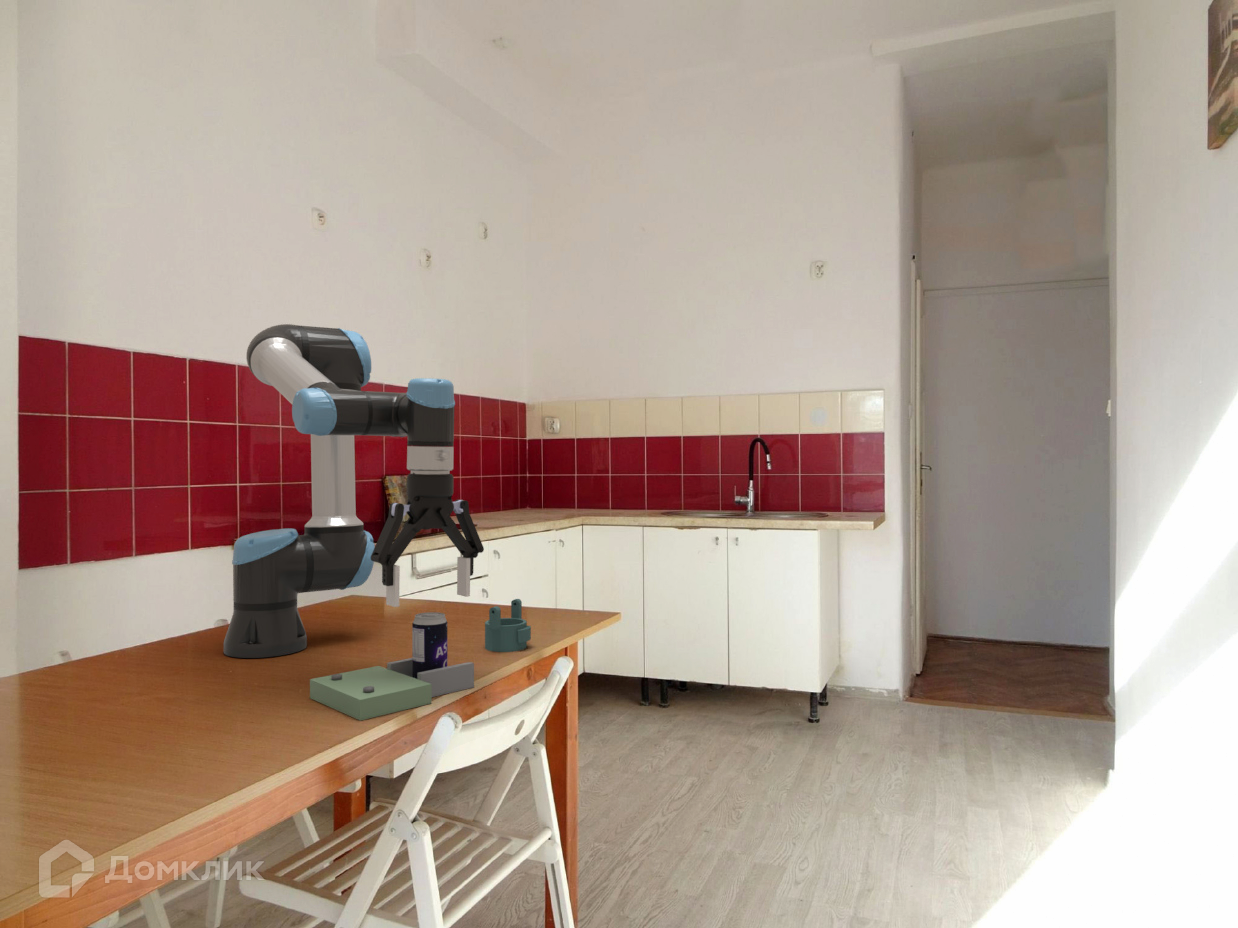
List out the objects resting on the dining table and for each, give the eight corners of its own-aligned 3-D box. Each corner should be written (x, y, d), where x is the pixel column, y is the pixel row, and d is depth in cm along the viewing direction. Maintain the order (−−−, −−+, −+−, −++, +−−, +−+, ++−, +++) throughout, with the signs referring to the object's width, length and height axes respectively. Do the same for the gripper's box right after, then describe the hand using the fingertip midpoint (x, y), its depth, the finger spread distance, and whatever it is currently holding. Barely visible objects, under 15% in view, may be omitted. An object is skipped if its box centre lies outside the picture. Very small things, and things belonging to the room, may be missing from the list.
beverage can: (439, 692, 137) (439, 618, 137) (406, 690, 138) (406, 617, 138) (452, 683, 143) (452, 612, 142) (421, 681, 144) (421, 611, 144)
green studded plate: (309, 698, 134) (309, 672, 134) (429, 672, 150) (429, 650, 149) (360, 720, 123) (360, 692, 123) (484, 690, 138) (484, 666, 138)
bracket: (489, 654, 164) (490, 608, 164) (480, 643, 172) (481, 600, 172) (535, 650, 167) (535, 605, 167) (524, 640, 176) (524, 597, 175)
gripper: (373, 474, 128) (372, 613, 129) (504, 472, 146) (503, 594, 147) (349, 472, 134) (348, 606, 134) (478, 470, 151) (477, 588, 152)
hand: (429, 600), depth 141 cm, fingers open, 13 cm apart
